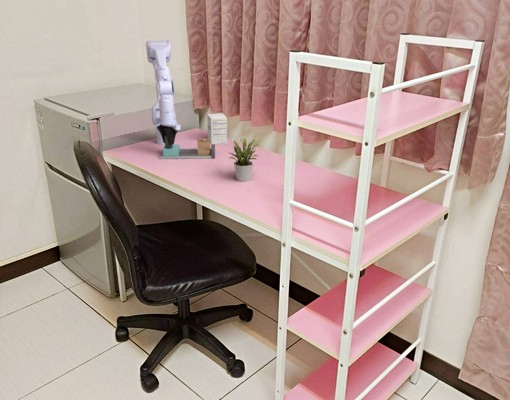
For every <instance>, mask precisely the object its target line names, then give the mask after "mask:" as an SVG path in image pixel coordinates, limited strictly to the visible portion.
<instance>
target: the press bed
mask: <svg viewBox="0 0 510 400" xmlns="http://www.w3.org/2000/svg"><path fill="white" fill-rule="evenodd" d="M163 149H164V148H162V151H161V155H160V156H159V160H201V159H202V160H209V159H210V160H211V159H213V160H214V159H215V160H216V144H211V143H210V156H198V148H180V153H179V156H163Z"/></svg>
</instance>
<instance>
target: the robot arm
mask: <svg viewBox="0 0 510 400" xmlns="http://www.w3.org/2000/svg"><path fill="white" fill-rule="evenodd" d="M145 46H146V49H145V50H146V56H147V61H148V63H150V64H152V66H153V69H154V78H155V90H156V98H157V99H156V101H157V102H156V103H155V104H154V105H153V106H152V107H151V120H152V124H153V125H154V126H155V131H156V133H155V134H156V143H157V145H161V146H165V135H167V138H168V144H169V145H175V141H176V136H177V133H178V132H179V130H181V124H179V123H178V122H177V119H176V116H177V115H176V110H175V106H174V105H175V104H174V95H175V83H174V79H173V78H172V75H171V69H170V67H168V66H167V63H169V62H170V61H171V53H172V50H171V49H172V47H171V42H170V41H169V40H147V41H146V42H145Z"/></svg>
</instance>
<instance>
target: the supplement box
mask: <svg viewBox="0 0 510 400" xmlns="http://www.w3.org/2000/svg"><path fill="white" fill-rule="evenodd" d="M206 116H207V117H206V118H207V139H210V145H211V144H215V145H216V144H220V145H219V146H224V144H227V145H228V118H227V116H226V115H225V114H224V113H222V112H220V113H208V114H206Z"/></svg>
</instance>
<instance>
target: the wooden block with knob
mask: <svg viewBox="0 0 510 400" xmlns="http://www.w3.org/2000/svg"><path fill="white" fill-rule="evenodd" d="M197 149H198V156H210V149H211V142H210V139H208V138H198V139H197Z"/></svg>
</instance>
